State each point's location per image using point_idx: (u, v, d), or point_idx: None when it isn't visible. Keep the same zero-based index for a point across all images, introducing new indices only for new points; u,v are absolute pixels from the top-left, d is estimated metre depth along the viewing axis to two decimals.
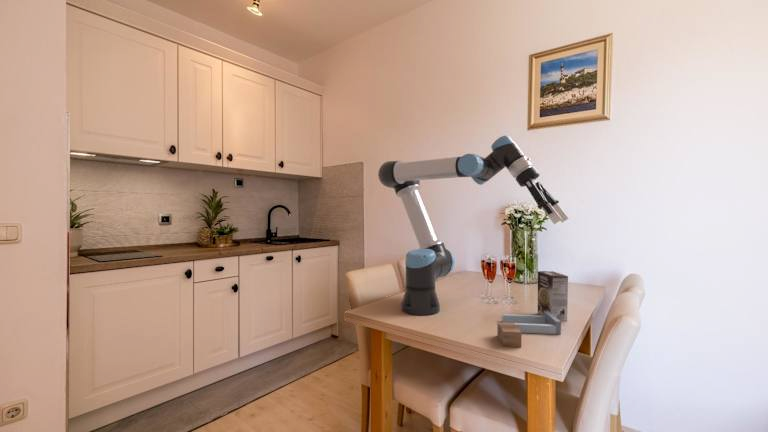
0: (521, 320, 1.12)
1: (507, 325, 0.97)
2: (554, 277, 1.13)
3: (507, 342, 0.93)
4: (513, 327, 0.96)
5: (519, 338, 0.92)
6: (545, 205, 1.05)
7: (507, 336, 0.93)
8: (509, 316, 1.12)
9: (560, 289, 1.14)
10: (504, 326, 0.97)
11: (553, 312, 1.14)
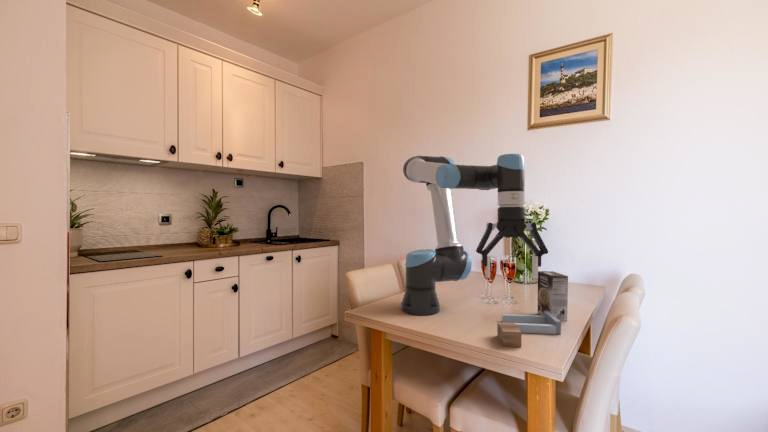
0: (521, 320, 1.12)
1: (507, 325, 0.97)
2: (554, 277, 1.13)
3: (507, 342, 0.93)
4: (513, 327, 0.96)
5: (519, 338, 0.92)
6: (482, 256, 0.97)
7: (507, 336, 0.93)
8: (509, 316, 1.12)
9: (560, 289, 1.14)
10: (504, 326, 0.97)
11: (553, 312, 1.14)
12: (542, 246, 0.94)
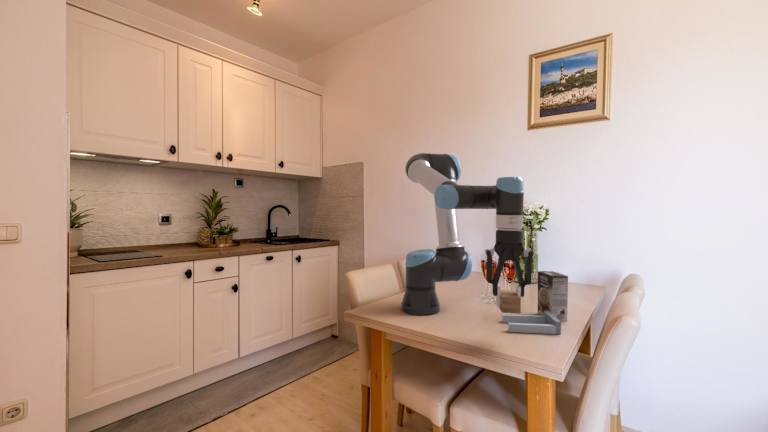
0: (521, 320, 1.12)
1: (507, 293, 0.97)
2: (554, 277, 1.13)
3: (506, 308, 0.93)
4: (513, 294, 0.96)
5: (518, 303, 0.92)
6: None
7: (506, 302, 0.93)
8: (509, 316, 1.12)
9: (560, 289, 1.14)
10: (503, 293, 0.97)
11: (553, 312, 1.14)
12: (528, 276, 0.95)
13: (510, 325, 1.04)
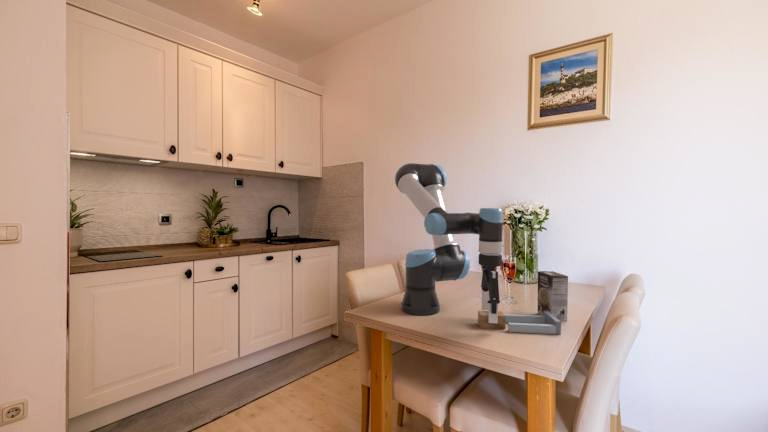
0: (521, 320, 1.12)
1: (488, 313, 1.09)
2: (554, 277, 1.13)
3: None
4: None
5: None
6: (495, 304, 1.02)
7: None
8: (509, 316, 1.12)
9: (560, 289, 1.14)
10: None
11: (553, 312, 1.14)
12: None
13: (510, 325, 1.04)
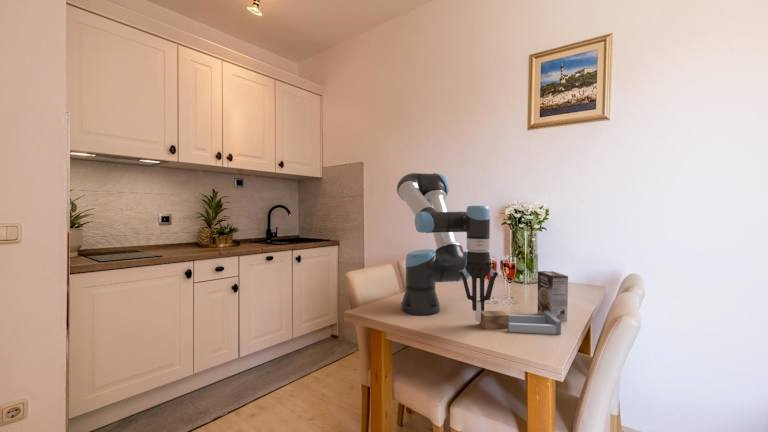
0: (521, 320, 1.12)
1: (491, 313, 1.09)
2: (554, 277, 1.13)
3: None
4: (492, 311, 1.11)
5: None
6: (472, 301, 1.10)
7: None
8: (509, 316, 1.12)
9: (560, 289, 1.14)
10: (493, 314, 1.08)
11: (553, 312, 1.14)
12: (488, 292, 1.08)
13: (510, 325, 1.04)
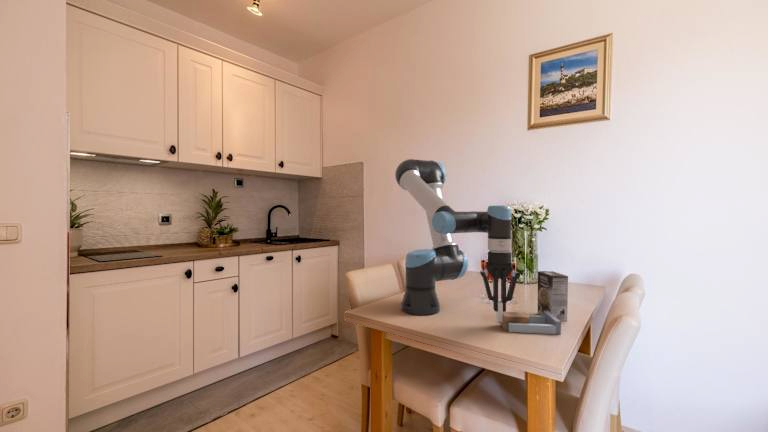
0: None
1: (512, 314, 1.08)
2: (554, 277, 1.13)
3: None
4: (513, 313, 1.09)
5: None
6: (493, 302, 1.09)
7: None
8: None
9: (560, 289, 1.14)
10: (514, 315, 1.07)
11: (553, 312, 1.14)
12: (510, 293, 1.07)
13: (510, 325, 1.04)
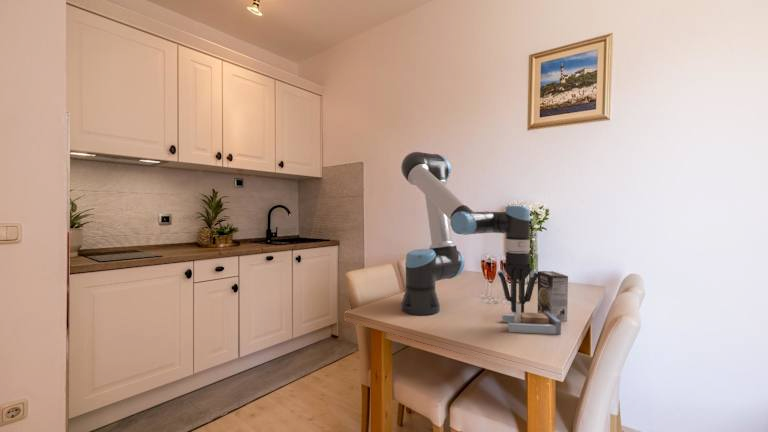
0: None
1: (530, 315, 1.07)
2: (554, 277, 1.13)
3: None
4: (531, 313, 1.08)
5: None
6: (511, 303, 1.08)
7: None
8: (509, 316, 1.12)
9: (560, 289, 1.14)
10: (532, 316, 1.06)
11: (553, 312, 1.14)
12: (529, 294, 1.07)
13: (510, 325, 1.04)
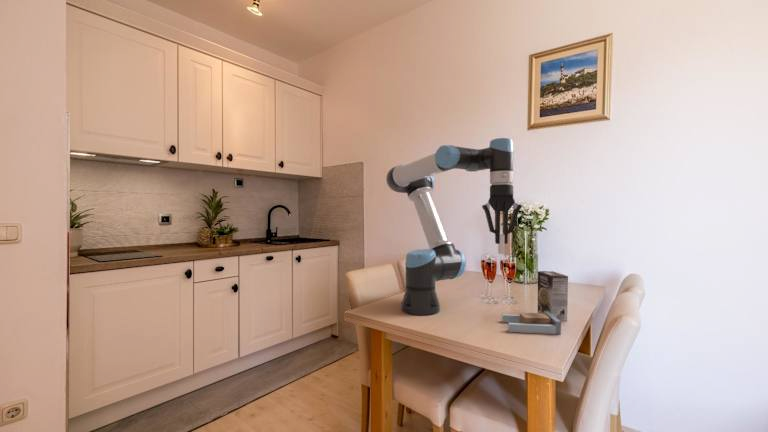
0: None
1: (531, 315, 1.07)
2: (554, 277, 1.13)
3: None
4: (532, 314, 1.08)
5: None
6: (495, 235, 1.11)
7: None
8: (509, 316, 1.12)
9: (560, 289, 1.14)
10: (534, 316, 1.06)
11: (553, 312, 1.14)
12: (512, 225, 1.09)
13: (510, 325, 1.04)
